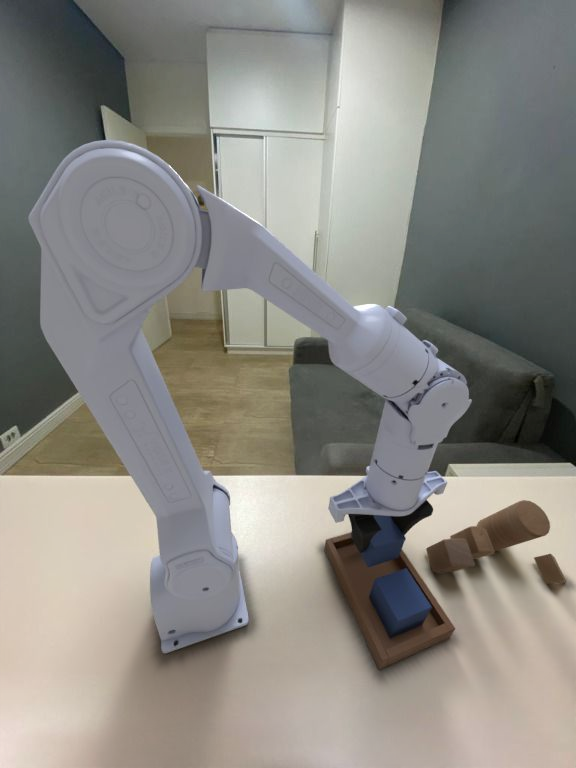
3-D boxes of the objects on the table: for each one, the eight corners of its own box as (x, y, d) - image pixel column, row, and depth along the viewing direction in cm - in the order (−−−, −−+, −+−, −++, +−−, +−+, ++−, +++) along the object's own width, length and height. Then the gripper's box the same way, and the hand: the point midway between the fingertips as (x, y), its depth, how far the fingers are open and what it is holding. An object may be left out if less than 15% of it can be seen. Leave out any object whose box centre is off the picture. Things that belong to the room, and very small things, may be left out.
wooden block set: (431, 589, 42) (468, 582, 34) (413, 522, 48) (441, 502, 39) (557, 583, 43) (622, 575, 35) (525, 518, 48) (576, 497, 40)
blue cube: (390, 638, 35) (397, 621, 33) (368, 597, 38) (374, 578, 36) (422, 624, 36) (432, 607, 34) (399, 585, 40) (406, 567, 38)
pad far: (367, 568, 38) (374, 548, 36) (350, 535, 41) (354, 516, 39) (398, 557, 39) (406, 538, 37) (378, 527, 43) (384, 507, 41)
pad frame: (378, 669, 33) (382, 661, 32) (324, 548, 44) (325, 539, 43) (450, 637, 36) (455, 628, 35) (381, 531, 47) (383, 522, 46)
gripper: (428, 427, 38) (403, 502, 45) (322, 448, 34) (312, 527, 41) (474, 466, 33) (438, 545, 39) (354, 497, 28) (335, 580, 35)
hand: (376, 539), depth 40 cm, fingers closed on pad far, 4 cm apart
